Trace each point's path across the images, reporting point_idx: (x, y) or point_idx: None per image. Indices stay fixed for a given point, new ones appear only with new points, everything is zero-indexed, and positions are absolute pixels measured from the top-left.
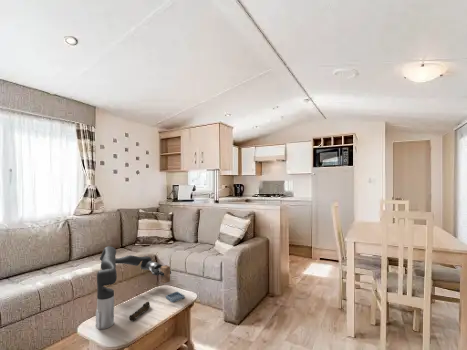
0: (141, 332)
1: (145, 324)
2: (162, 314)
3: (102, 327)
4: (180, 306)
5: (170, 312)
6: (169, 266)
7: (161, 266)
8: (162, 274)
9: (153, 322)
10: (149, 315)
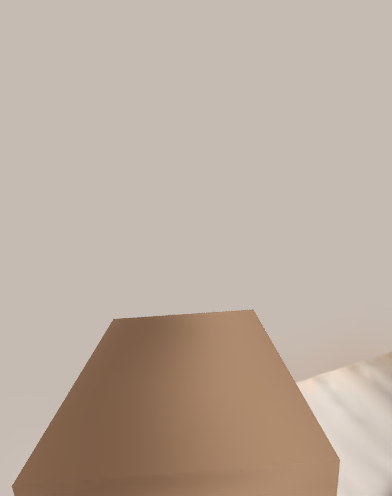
0: (388, 353)
1: (385, 385)
2: None
3: None
4: None
5: None
6: (111, 328)
7: (293, 455)
8: None
9: (347, 379)
10: (384, 447)
